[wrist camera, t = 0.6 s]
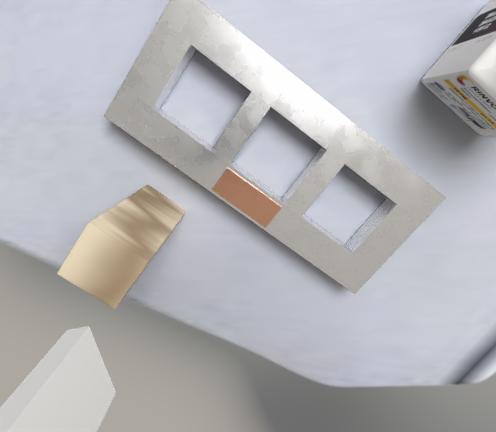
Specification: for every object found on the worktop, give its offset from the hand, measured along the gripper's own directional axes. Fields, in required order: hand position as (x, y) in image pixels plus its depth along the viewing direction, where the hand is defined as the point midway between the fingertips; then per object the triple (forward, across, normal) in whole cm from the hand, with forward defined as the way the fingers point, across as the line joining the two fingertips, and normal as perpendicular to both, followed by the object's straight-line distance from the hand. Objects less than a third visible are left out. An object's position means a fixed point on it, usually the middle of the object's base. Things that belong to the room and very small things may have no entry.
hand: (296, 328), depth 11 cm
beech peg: (+23, -12, -1) cm, 26 cm away
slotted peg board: (+23, +1, +2) cm, 23 cm away
